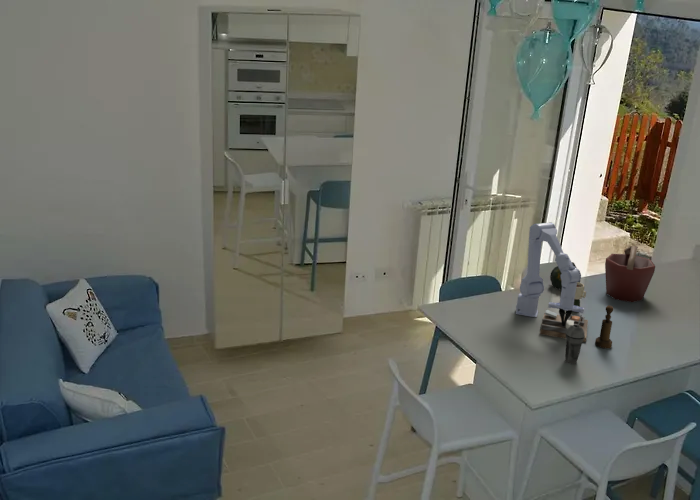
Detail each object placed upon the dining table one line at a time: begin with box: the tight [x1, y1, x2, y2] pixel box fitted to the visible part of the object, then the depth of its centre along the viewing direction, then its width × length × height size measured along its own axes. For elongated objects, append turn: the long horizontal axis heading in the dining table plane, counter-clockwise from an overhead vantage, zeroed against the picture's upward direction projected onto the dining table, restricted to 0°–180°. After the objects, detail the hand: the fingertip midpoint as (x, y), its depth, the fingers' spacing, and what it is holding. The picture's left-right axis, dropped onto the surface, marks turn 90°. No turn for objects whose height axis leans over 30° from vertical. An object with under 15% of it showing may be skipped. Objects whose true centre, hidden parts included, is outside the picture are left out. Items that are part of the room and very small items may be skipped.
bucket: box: [604, 245, 656, 303], centre depth 341 cm, size 24×22×25 cm
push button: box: [571, 315, 581, 322], centre depth 307 cm, size 4×4×2 cm
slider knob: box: [566, 320, 574, 329], centre depth 297 cm, size 3×5×4 cm, turn 160°
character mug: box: [574, 282, 587, 307], centre depth 323 cm, size 11×7×13 cm, turn 38°
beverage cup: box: [564, 314, 585, 365], centre depth 272 cm, size 7×7×20 cm
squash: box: [549, 261, 581, 291], centre depth 350 cm, size 14×15×15 cm
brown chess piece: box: [594, 304, 614, 350], centre depth 287 cm, size 7×6×18 cm
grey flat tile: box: [544, 309, 558, 318], centre depth 311 cm, size 5×4×1 cm
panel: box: [539, 312, 589, 343], centre depth 303 cm, size 19×20×4 cm
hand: (563, 325), depth 298 cm, fingers closed
